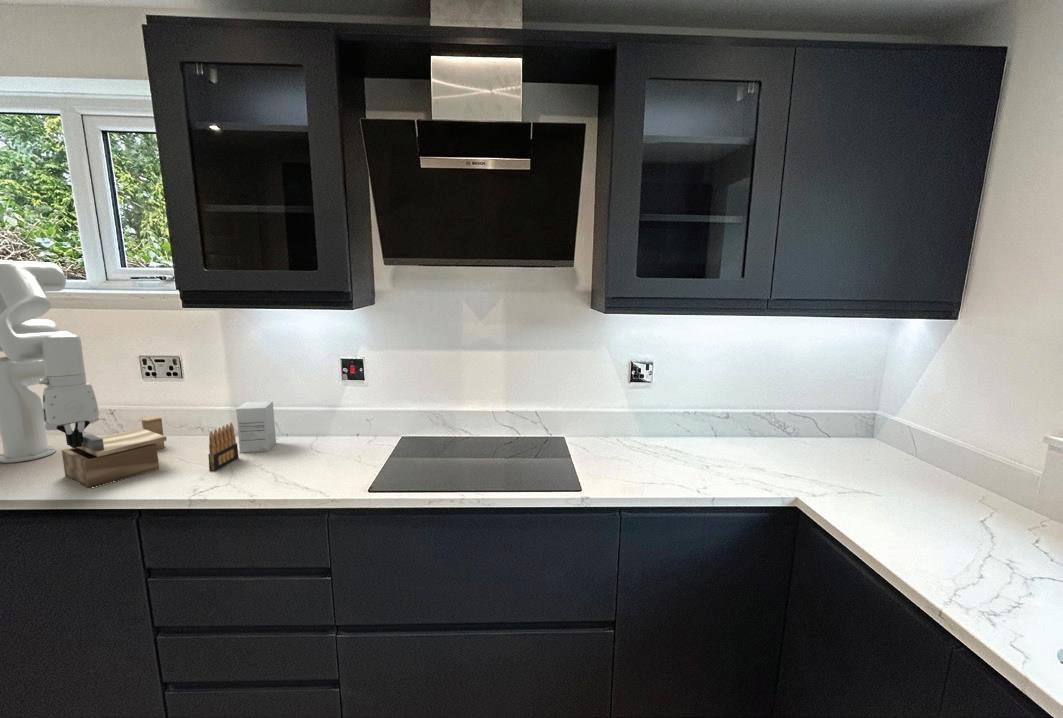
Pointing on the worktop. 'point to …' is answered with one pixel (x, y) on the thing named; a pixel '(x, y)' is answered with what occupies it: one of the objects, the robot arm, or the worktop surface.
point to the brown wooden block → (154, 427)
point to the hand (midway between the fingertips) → (75, 446)
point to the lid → (119, 441)
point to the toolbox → (108, 465)
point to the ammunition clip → (222, 448)
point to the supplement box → (256, 426)
